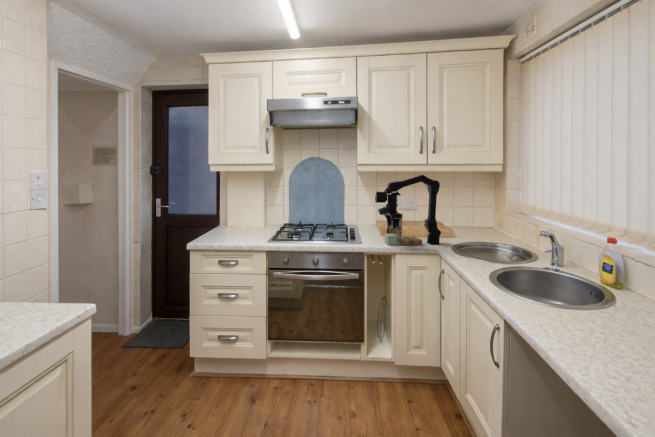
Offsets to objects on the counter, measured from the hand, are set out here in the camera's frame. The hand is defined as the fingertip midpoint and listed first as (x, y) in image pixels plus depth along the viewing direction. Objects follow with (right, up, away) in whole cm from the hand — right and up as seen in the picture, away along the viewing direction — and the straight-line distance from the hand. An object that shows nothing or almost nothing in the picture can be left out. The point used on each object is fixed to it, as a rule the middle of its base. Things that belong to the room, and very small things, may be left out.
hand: (391, 227), depth 221 cm
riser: (+12, -10, +4) cm, 16 cm away
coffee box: (+6, -7, +22) cm, 24 cm away
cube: (0, -10, +2) cm, 11 cm away
